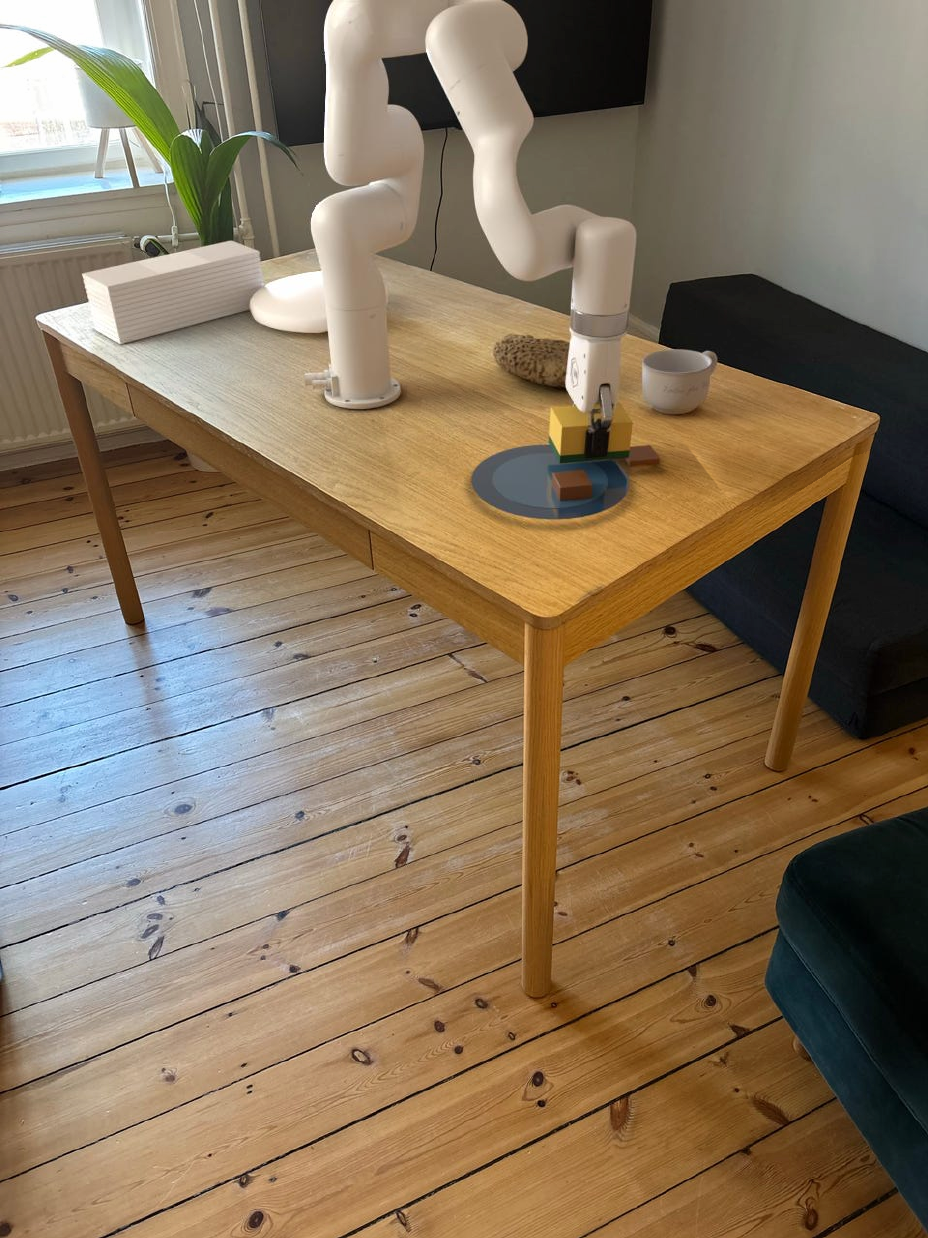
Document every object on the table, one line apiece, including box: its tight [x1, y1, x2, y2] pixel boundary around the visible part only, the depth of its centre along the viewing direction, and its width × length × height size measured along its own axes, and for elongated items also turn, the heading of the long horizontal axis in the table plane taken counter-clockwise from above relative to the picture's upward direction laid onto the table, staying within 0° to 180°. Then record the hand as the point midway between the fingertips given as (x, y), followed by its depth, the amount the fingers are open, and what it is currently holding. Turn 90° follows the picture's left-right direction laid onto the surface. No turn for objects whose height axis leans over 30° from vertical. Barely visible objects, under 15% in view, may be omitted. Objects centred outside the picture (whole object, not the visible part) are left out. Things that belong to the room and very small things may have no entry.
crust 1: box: [552, 470, 592, 501], centre depth 132 cm, size 4×4×2 cm
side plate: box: [470, 444, 631, 521], centre depth 136 cm, size 22×22×1 cm
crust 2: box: [624, 444, 661, 467], centre depth 141 cm, size 4×4×2 cm
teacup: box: [641, 348, 718, 415], centre depth 156 cm, size 14×11×8 cm
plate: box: [249, 270, 390, 334], centre depth 194 cm, size 28×6×27 cm
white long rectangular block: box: [81, 240, 265, 345], centre depth 192 cm, size 32×11×11 cm, turn 132°
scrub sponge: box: [548, 402, 634, 463], centre depth 138 cm, size 10×6×6 cm, turn 99°
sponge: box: [492, 333, 570, 388], centre depth 165 cm, size 13×8×20 cm
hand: (588, 443), depth 139 cm, fingers closed on scrub sponge, 6 cm apart
